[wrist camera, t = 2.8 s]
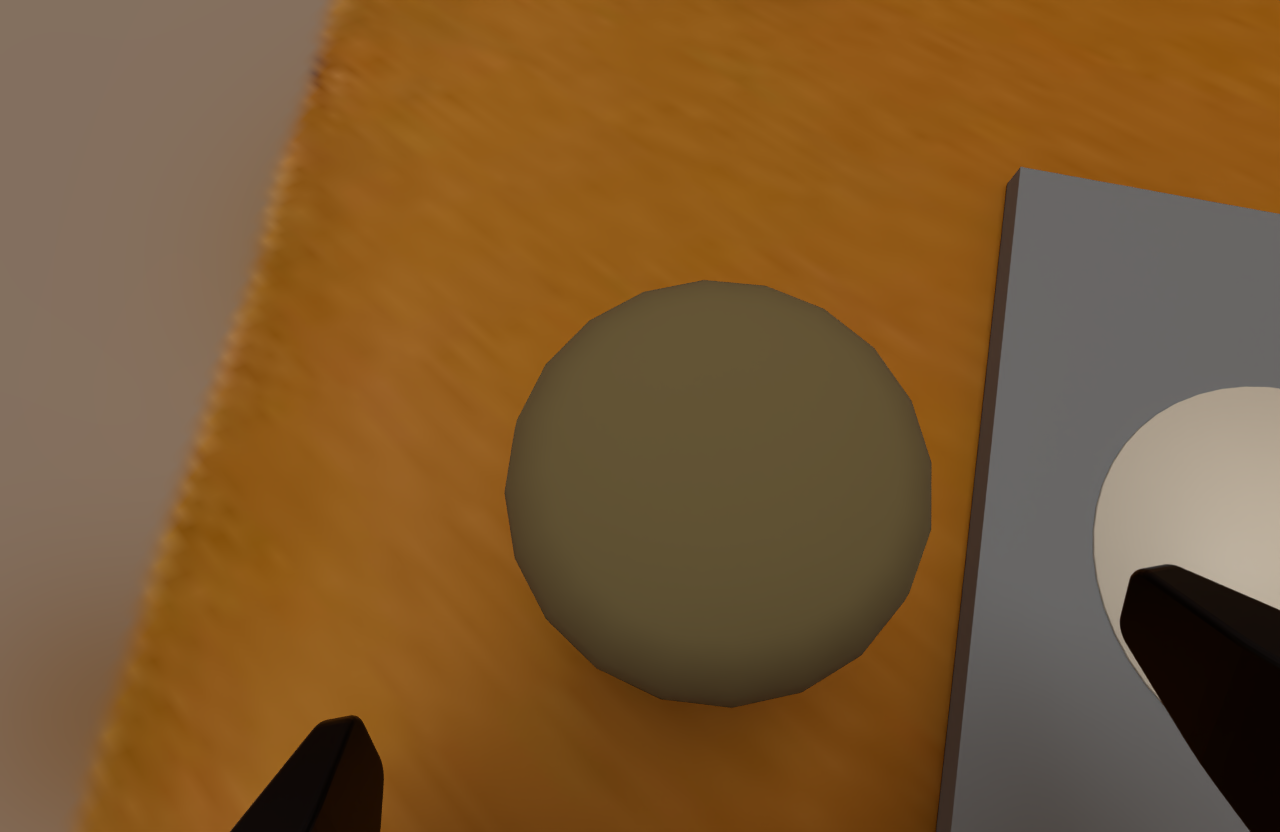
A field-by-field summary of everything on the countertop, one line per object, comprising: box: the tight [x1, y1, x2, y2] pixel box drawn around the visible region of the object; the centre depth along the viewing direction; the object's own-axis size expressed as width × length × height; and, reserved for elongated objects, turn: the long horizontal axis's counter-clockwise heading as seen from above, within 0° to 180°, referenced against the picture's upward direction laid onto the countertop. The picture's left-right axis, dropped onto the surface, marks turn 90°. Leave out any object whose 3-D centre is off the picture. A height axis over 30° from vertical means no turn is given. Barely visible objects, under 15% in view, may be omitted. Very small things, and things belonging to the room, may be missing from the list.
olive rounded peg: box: [505, 280, 931, 708], centre depth 13 cm, size 6×6×11 cm
